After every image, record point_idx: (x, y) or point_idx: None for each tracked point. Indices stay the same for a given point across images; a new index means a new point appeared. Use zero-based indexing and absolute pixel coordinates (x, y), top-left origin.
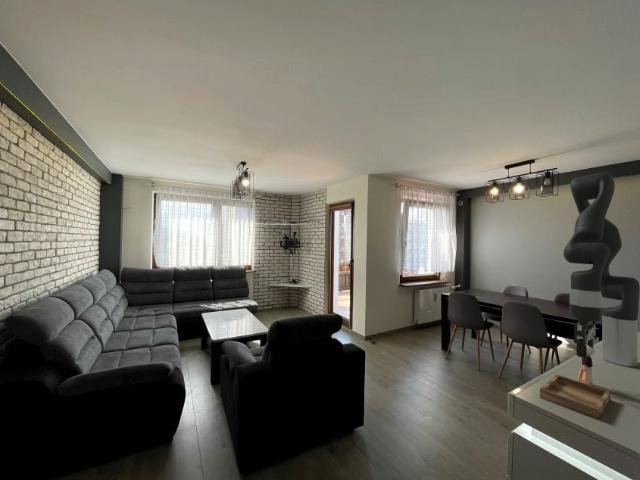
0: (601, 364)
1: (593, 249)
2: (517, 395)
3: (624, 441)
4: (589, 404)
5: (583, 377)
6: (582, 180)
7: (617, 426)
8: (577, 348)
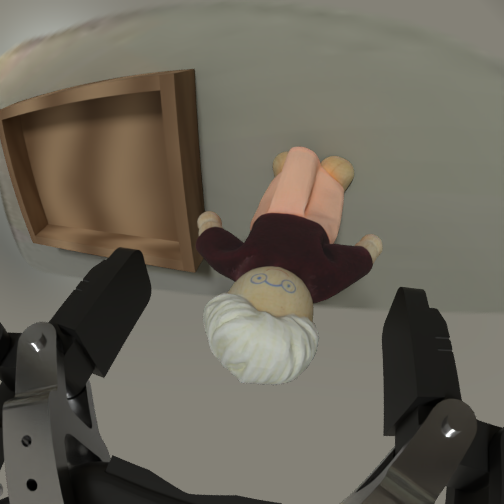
0: None
1: None
2: None
3: (32, 260)
4: (84, 208)
5: (273, 182)
6: None
7: (64, 255)
8: (82, 297)
